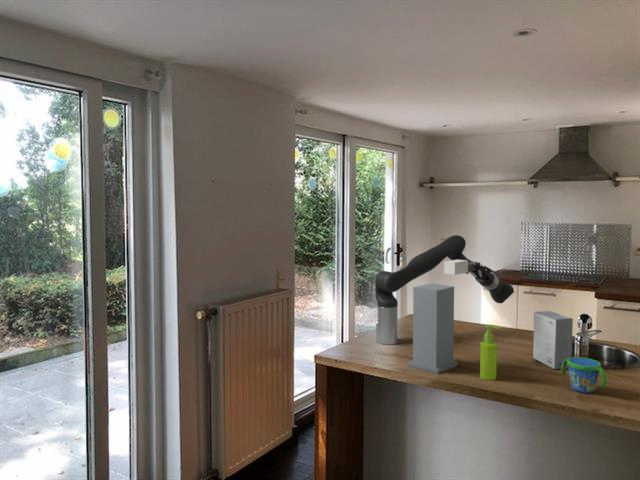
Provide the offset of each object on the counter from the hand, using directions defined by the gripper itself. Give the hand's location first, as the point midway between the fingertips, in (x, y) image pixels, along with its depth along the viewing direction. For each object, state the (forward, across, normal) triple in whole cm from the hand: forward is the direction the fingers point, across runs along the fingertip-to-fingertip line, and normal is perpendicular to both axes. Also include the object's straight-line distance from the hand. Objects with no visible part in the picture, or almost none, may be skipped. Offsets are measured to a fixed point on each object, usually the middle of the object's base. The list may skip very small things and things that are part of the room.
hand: (469, 263), depth 225 cm
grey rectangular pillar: (+4, 0, +47) cm, 47 cm away
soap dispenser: (+1, +23, +46) cm, 51 cm away
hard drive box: (-28, +32, +29) cm, 51 cm away
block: (+3, 0, +5) cm, 6 cm away
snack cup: (-9, +52, +40) cm, 66 cm away
